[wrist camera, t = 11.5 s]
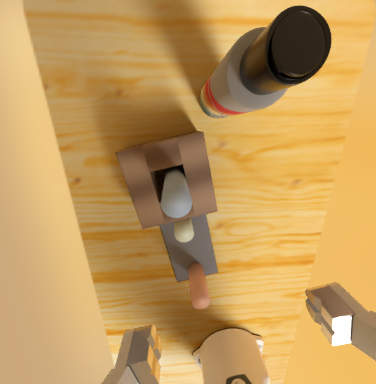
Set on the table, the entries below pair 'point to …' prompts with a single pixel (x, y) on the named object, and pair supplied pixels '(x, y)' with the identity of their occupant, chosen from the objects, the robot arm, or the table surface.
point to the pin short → (183, 230)
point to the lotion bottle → (267, 63)
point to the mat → (190, 248)
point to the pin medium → (198, 286)
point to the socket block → (160, 159)
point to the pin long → (175, 193)
